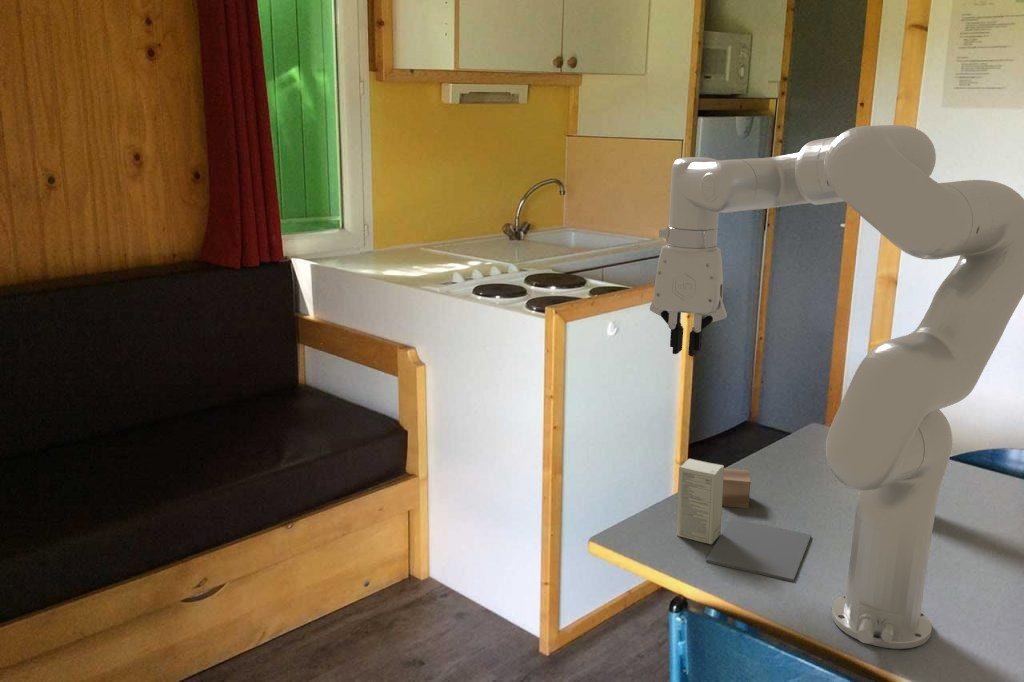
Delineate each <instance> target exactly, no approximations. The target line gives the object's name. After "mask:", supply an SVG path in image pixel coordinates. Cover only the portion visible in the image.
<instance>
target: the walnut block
mask: <svg viewBox="0 0 1024 682" xmlns="http://www.w3.org/2000/svg"><path fill="white" fill-rule="evenodd" d="M750 493H751V474H750V470H746V469H745V470H744V469H735V468H724V477H723V498H722V507H732V508H743V509H749V504H750Z"/></svg>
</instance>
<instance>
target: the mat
mask: <svg viewBox="0 0 1024 682" xmlns="http://www.w3.org/2000/svg"><path fill="white" fill-rule="evenodd" d="M729 519H730V520H729V521H728V522H727V524H726V526H725V528H724V529H723V531H722V532H721V534H720V536H719V537H718V538H717V540H716V543H715V544H714V545H713V547H712V549H711V551H710V552H709V554H708V556H707V558H706V559H705V562H706V563H709V564H714V565H717V566H724V567H727V568H732V569H735V568H736V570H740V571H744V572H748V571H749V572H748V573H753V574H758V575H761V574H762V575H763V576H766V577H770V576H771V578H775V579H780V580H784V581H788V582H793V583H794V581H795V579H796V577H797V573H798V571H799V568H800V566H801V563H802V560H803V558H804V556H805V553H806V550H807V548H808V546H809V543H810V540H811V538H812V534H810V533H806V532H805V533H804V532H802V531H801V532H799V531H795V530H790V529H785V528H780V527H777V526H770V525H766V524H761V523H757V522H752V521H747V520H741V519H737V518H729Z"/></svg>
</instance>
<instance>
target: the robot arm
mask: <svg viewBox="0 0 1024 682" xmlns="http://www.w3.org/2000/svg"><path fill="white" fill-rule="evenodd" d="M936 161H937V155H936V148H935V145H934V144H933V141H932V140H931V138H930V137H929V136H928V135H927V134H926V133H925V132H924V131H921V130H920V129H918V128H916V127H912V126H910V125H903V124H900V125H899V124H889V125H888V124H886V125H885V124H884V125H883V124H881V125H880V124H879V125H861V126H855V127H851V128H849V129H848V130H845V131H844V132H842V133H841V134H839V135H838V136H831V137H826V138H820V139H815V140H811V141H809V142H807V143H806V144H804V145H803V146H802V148H801V149H800V150H799V152H794V153H789V154H783V155H777V156H769V157H759V158H753V157H752V158H739V159H737V158H736V159H735V158H734V159H723V160H717V159H716V158H711V157H704V156H703V157H702V156H700V157H699V156H698V157H697V156H691V157H690V156H688V157H680V158H677V159H676V160H674V162H673V163H672V166H671V173H670V191H669V209H668V226H666V228H660V229H659V230H658V231H659V232H658V238H663V239H665V241H666V244H665V245H662V246H661V249H660V253H659V256H658V261H657V267H656V275H655V280H654V282H655V283H654V289H653V299H652V301H651V304H650V306H649V311H650V312H652V313H653V314H656V315H658V316H660V317H661V318H662V319H663V320H664V321H665V323H666V324H667V326H668V329H670V339H669V347H670V348H672V355H678V354H679V353H681V351H683V342H684V341H683V340H684V327H683V325H682V323H681V320H682V313H685V314H693V325H692V326H693V327H692V328H691V331H690V332H689V335H688V336H689V338H688V339H689V340H688V356H689V357H695V356H696V354H698V351H701V349H702V341H703V340H702V338H703V330H704V329H705V328H706V327H708V325H710V324H712V323H715V322H719V321H722V320H724V319H726V318H727V317H728V313H727V310H726V308H725V304H724V301H723V297H724V295H723V294H724V273H723V271H724V270H723V259H722V252H721V248H719V247H718V231H719V220H720V219H719V217H720V216H719V215H720V213H721V214H722V213H725V214H726V213H733V212H743V211H752V210H764V209H765V210H767V209H774V208H780V207H787V206H788V207H789V206H797V205H805V204H812V205H814V206H818V205H826V204H834V203H841V202H842V203H843V202H845V203H846V204H847V205H848V207H850V208H851V209H852V210H853V211H854V212H856V213H857V214H858V215H859V216H860V217H861V218H863V219H864V220H865V221H866V222H867V223H868V224H870V226H872V227H873V228H874V229H875V230H876V231H877V232H879V233H880V234H881V235H882V236H883V237H885V238H886V239H887V241H889V242H890V243H891V244H893V246H895V247H896V248H898V249H900V251H902V252H904V253H905V254H906V255H907V254H908V255H909V256H912V257H915V258H918V259H922V260H932V261H933V260H941V259H946V258H952V257H953V258H954V257H958V256H959V258H958V260H957V263H956V264H955V266H954V267H953V269H952V270H951V271H950V272H949V274H948V275H947V276H946V278H945V279H943V281H942V283H941V284H940V285H939V287H938V289H937V290H936V292H935V294H934V296H933V297H932V301H931V303H930V304H929V307H928V309H927V311H926V312H925V314H924V316H923V318H922V320H921V321H920V322H919V324H918V325H917V327H916V329H914V331H911V332H910V333H908V334H906V335H902V336H899V337H895V338H894V337H893V338H892V339H888V340H885V341H884V342H882V343H880V344H878V345H877V346H875V347H874V348H872V349H871V351H869V352H868V353H867V355H866V356H865V357H864V358H863V359H862V360H861V362H860V364H859V365H858V367H857V369H856V371H855V373H854V374H853V377H852V379H851V380H850V383H849V385H848V388H847V390H846V392H845V394H844V396H843V398H842V400H841V402H840V405H839V407H838V410H837V411H836V413H835V415H834V418H833V420H832V422H831V425H830V427H829V430H828V433H827V436H826V441H825V456H826V457H825V458H826V460H827V464H828V467H829V468H830V471H831V473H832V474H833V476H834V477H835V478H836V479H837V480H838V481H839V482H840V483H842V484H843V485H844V486H847V487H848V488H851V489H854V490H858V494H857V497H856V498H857V499H856V505H855V513H854V520H853V521H854V522H853V528H852V529H853V530H852V538H851V544H850V546H851V547H850V555H849V562H848V563H849V564H848V570H847V571H848V572H847V581H846V590H845V593H844V594H843V595H841V596H839V597H837V598H836V599H834V601H833V602H832V605H831V613H830V614H831V618H832V620H833V622H834V624H835V625H837V627H838V628H839V629H840V630H841V631H843V632H844V633H845V634H847V635H848V636H850V637H852V638H854V639H856V640H857V641H859V642H861V643H863V644H867V645H872V646H874V647H879V648H886V649H892V650H893V649H894V650H895V649H896V650H903V649H904V650H905V649H912V648H916V647H920V646H921V645H924V644H925V643H927V642H928V640H929V639H930V638H931V635H932V629H933V626H932V622H931V620H930V618H929V617H928V616H927V615H926V614H925V613H924V611H922V607H923V601H924V600H923V599H924V593H925V585H926V578H927V571H928V565H929V564H928V563H929V558H930V549H931V543H932V537H933V528H934V523H935V519H936V518H935V517H936V509H937V506H938V505H937V504H938V500H939V499H938V498H939V494H940V490H941V486H942V482H943V480H944V476H945V474H946V471H947V467H948V464H949V461H950V458H951V454H952V448H953V447H952V446H953V434H952V433H953V432H952V428H951V426H950V423H949V421H948V419H947V417H946V415H944V414H945V413H943V412H942V411H941V410H942V409H944V408H947V407H950V406H952V405H955V404H957V403H960V402H961V401H963V400H965V398H967V397H968V396H969V395H970V394H971V393H972V391H974V389H975V387H976V386H977V383H978V381H979V379H980V377H981V376H982V373H983V372H984V370H985V368H986V366H987V364H988V362H989V361H990V359H991V357H992V355H993V353H994V351H995V350H996V348H997V346H998V343H999V342H1000V340H1001V338H1002V336H1003V335H1004V332H1005V330H1006V328H1007V326H1008V324H1009V322H1010V321H1011V318H1012V317H1013V315H1014V313H1015V311H1016V309H1017V307H1018V306H1019V303H1020V302H1021V300H1022V298H1023V296H1024V197H1023V196H1022V195H1021V194H1020V193H1019V192H1017V191H1016V190H1014V189H1013V188H1011V187H1010V186H1009V185H1006V184H1004V183H1001V182H998V181H993V180H986V179H967V180H957V181H950V182H949V181H948V182H946V181H945V182H937V180H935V179H933V178H931V177H930V176H931V175H932V173H933V172H934V170H935V166H936Z"/></svg>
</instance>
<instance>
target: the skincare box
mask: <svg viewBox="0 0 1024 682" xmlns="http://www.w3.org/2000/svg"><path fill="white" fill-rule="evenodd" d="M724 469H725V466H724V465H723V464H719V463H712V462H707V461H703V460H700V459H699V460H698V459H694V458H688V459H686V460H685V461H684V462H683V463H682V464H680V465H679V466H678V484H677V485H678V489H677V490H678V491H677V513H676V515H677V520H676V536H678V537H682V538H684V539H688V540H693V541H696V542H699V543H704V544H709V545H712V544H714V543H715V541H717V540H718V539H719V537H720V536H721V534H722V532H721V531H722V517H723V516H722V513H723V512H722V511H723V506H722V498H723V477H724Z"/></svg>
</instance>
